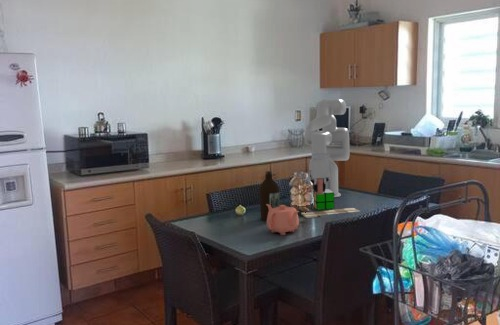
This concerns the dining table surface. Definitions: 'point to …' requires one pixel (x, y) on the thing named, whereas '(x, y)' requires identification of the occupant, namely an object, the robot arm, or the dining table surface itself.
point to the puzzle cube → (324, 200)
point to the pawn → (319, 186)
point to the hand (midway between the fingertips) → (319, 191)
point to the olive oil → (268, 195)
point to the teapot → (282, 219)
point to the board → (328, 212)
